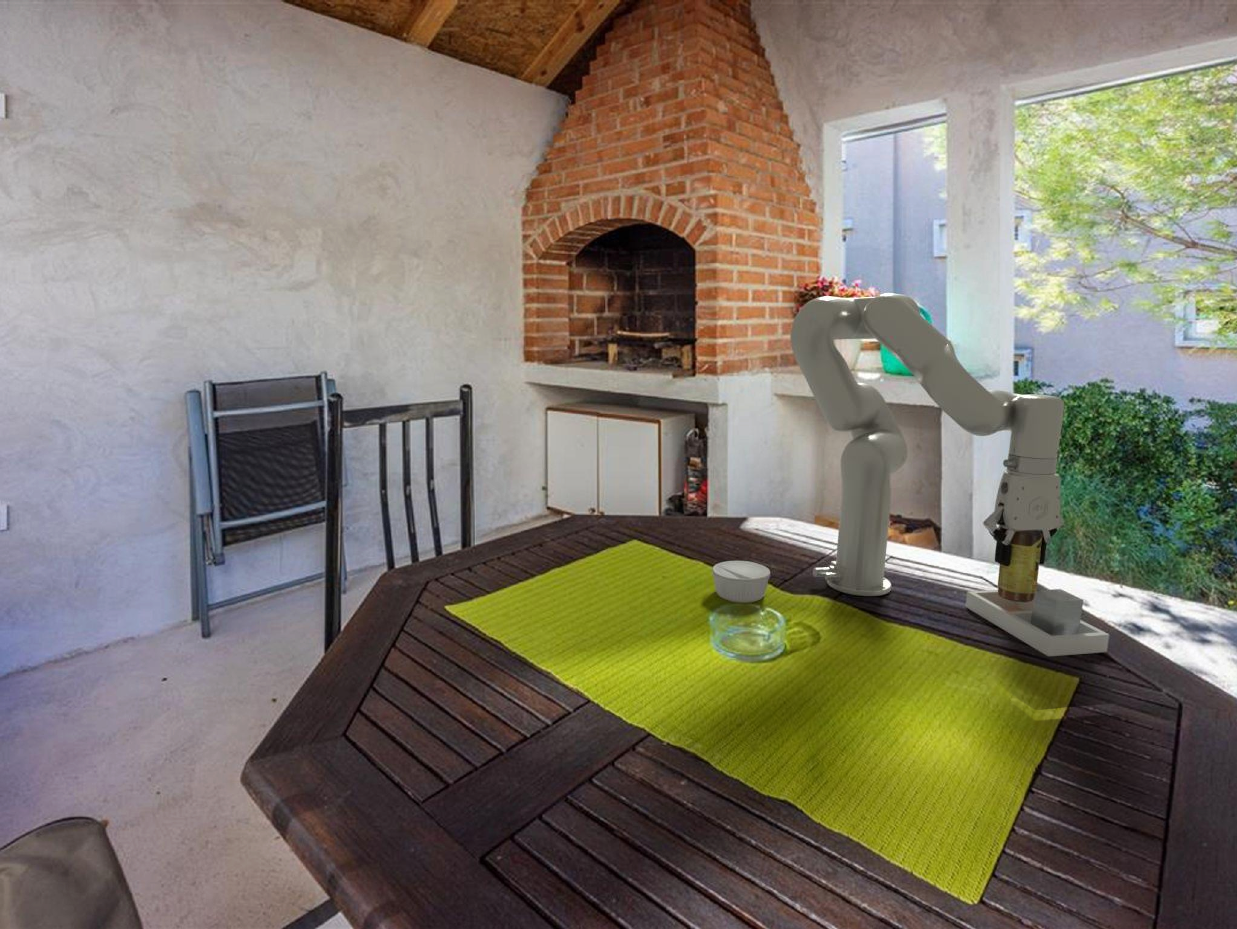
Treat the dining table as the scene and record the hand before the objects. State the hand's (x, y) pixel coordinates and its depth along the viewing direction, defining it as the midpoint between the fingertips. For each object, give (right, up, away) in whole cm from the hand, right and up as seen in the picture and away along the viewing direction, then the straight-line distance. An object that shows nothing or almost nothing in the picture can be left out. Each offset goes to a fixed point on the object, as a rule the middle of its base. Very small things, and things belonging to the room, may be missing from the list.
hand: (1019, 562), depth 134 cm
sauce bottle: (0, -7, +1) cm, 7 cm away
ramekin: (-48, -8, +13) cm, 51 cm away
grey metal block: (+2, -12, -8) cm, 14 cm away
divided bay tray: (+1, -12, -2) cm, 12 cm away
